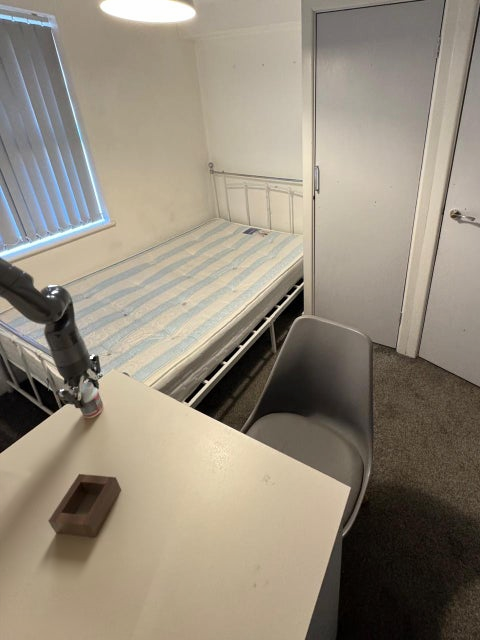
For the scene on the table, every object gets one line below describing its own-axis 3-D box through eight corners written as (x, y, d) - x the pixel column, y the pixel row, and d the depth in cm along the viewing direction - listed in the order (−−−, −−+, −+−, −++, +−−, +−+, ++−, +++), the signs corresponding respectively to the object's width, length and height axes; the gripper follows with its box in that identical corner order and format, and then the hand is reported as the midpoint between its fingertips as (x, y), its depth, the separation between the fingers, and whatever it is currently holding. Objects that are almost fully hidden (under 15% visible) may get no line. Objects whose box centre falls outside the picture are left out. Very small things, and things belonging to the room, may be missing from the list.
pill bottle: (105, 412, 95) (96, 389, 91) (84, 422, 92) (73, 398, 88) (102, 399, 99) (94, 376, 95) (82, 408, 96) (72, 385, 92)
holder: (55, 533, 69) (47, 521, 67) (85, 486, 78) (79, 473, 75) (95, 537, 68) (89, 525, 66) (121, 489, 77) (116, 477, 75)
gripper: (76, 335, 93) (92, 377, 100) (35, 374, 80) (57, 419, 87) (101, 336, 93) (115, 379, 100) (63, 376, 80) (83, 421, 87)
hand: (88, 397), depth 94 cm, fingers closed on pill bottle, 5 cm apart
